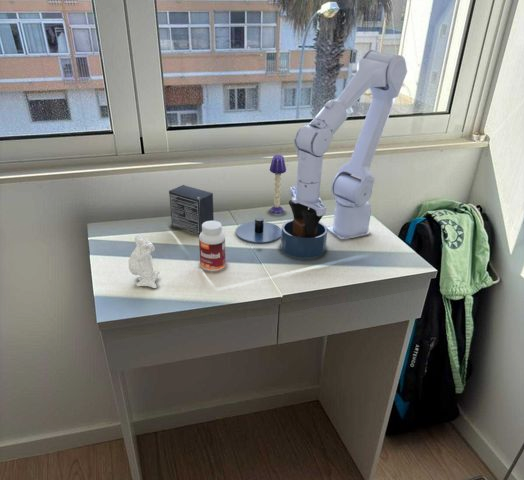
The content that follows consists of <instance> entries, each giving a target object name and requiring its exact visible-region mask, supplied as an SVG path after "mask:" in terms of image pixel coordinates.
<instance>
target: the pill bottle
mask: <svg viewBox="0 0 524 480" xmlns="http://www.w3.org/2000/svg"><path fill="white" fill-rule="evenodd" d="M222 230H223V224H222V223H221V222H220V221H218V220H214V221H206V222H204V223H203V224H202V232H201V233H200V235H198V243H199V244H198V245H199V265H200V268H202V269H203V270H205V271H213V272H214V271H220V270H222V269H224V268H225V266H226V235H225V233H224V232H223V231H222Z"/></svg>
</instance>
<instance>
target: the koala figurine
mask: <svg viewBox="0 0 524 480" xmlns="http://www.w3.org/2000/svg"><path fill="white" fill-rule="evenodd" d="M134 243H135V248H134V249H133V251H131V254H130V256H129V259H128V270H129V272H130V273H131V275H133V276H138V278H137V280H138V281H137V282H136V283H135V285H136V287H137V286H138V287H149V288H153V289H156V288H157V287H158V286H157V283H155V282H156V281H157V278H158V276H159V274H160V271H159V270H154V266H153V262H152V261H153V256H152V255H151V254H152V253H153V252H154V251H155V250H156V248H155V246H154V243H152V242H151V241H150V240H148V238H146V237H141V236H135V238H134Z"/></svg>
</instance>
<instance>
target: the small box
mask: <svg viewBox="0 0 524 480" xmlns="http://www.w3.org/2000/svg"><path fill="white" fill-rule="evenodd" d="M168 196H169V204H170V205H169V206H170V219H171V227H174V228H176V229H177V228H178V229H181V230H183V231H186V232H189V233H191V234H196V235H198V236H199V235H200V233H201V232H202V224H203V223H204V222H206V221H215V219H214V193H213V192H211V191H206V190H203V189H199V188H196V187H192V186H189V185H185V184H182V185H179V186H177V187H175V188H172V189H170V190H168Z"/></svg>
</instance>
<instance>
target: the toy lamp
mask: <svg viewBox="0 0 524 480" xmlns="http://www.w3.org/2000/svg"><path fill="white" fill-rule="evenodd" d="M269 171H270V173H271V174H274V192H273V193H274V194H273V201H274V203H273V206H272V207H271V208H270V209H269V212H270V213H271V214H273V215H274V214H275V215H282V214H283V213H284V212H285V211H284V208H283V207H282V206H281V191H282V188H281V186H282V182H281V181H282V177H281V176H282V174H285V173H286V172H287V166H286V161H285V157H284V156H283V155H282V154H275V155H273V157H272V158H271V163H270V167H269Z"/></svg>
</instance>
